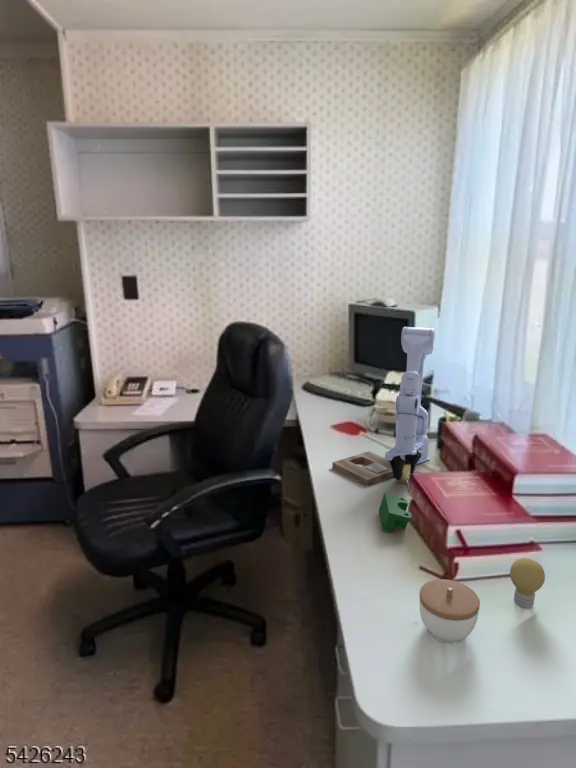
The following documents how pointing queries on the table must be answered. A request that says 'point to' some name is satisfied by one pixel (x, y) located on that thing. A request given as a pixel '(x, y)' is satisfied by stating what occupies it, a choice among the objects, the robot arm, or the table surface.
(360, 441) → the table surface
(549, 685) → the table surface
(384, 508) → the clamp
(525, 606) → the light bulb
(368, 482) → the jig plate
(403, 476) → the brass bushing
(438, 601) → the lidded jar
